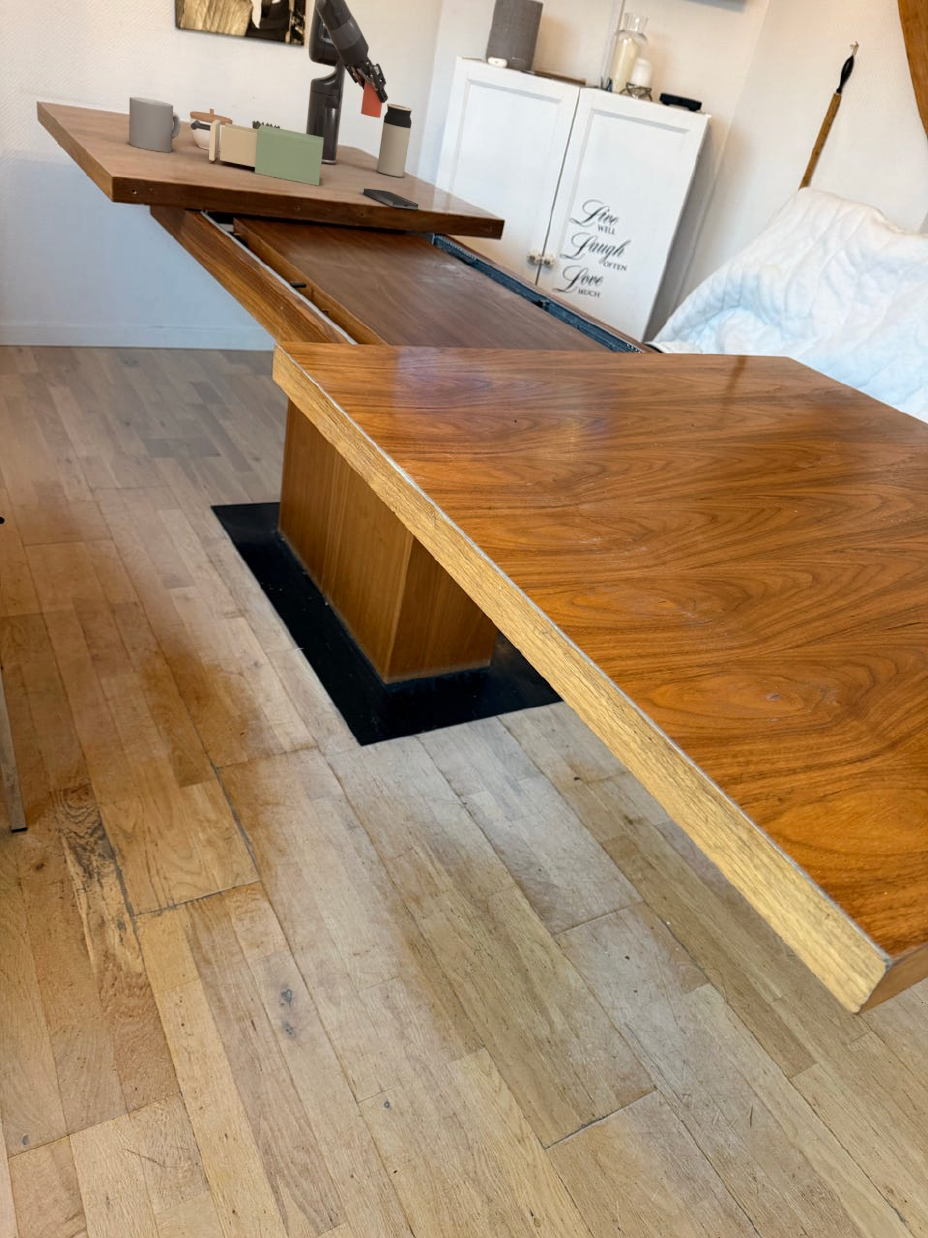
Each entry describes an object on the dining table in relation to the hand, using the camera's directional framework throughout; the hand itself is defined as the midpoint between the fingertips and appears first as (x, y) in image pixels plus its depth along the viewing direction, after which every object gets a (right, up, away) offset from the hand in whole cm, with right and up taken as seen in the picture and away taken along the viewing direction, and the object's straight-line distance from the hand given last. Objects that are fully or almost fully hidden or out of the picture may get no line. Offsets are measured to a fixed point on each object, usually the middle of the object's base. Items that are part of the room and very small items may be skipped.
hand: (378, 98), depth 242 cm
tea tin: (-2, -4, +1) cm, 5 cm away
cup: (-32, -10, +10) cm, 36 cm away
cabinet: (-22, -26, -12) cm, 36 cm away
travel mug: (+1, -6, +30) cm, 31 cm away
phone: (+4, -34, -14) cm, 37 cm away
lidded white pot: (-45, -12, +2) cm, 47 cm away
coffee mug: (-53, -21, -15) cm, 59 cm away
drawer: (-35, -24, -15) cm, 45 cm away
